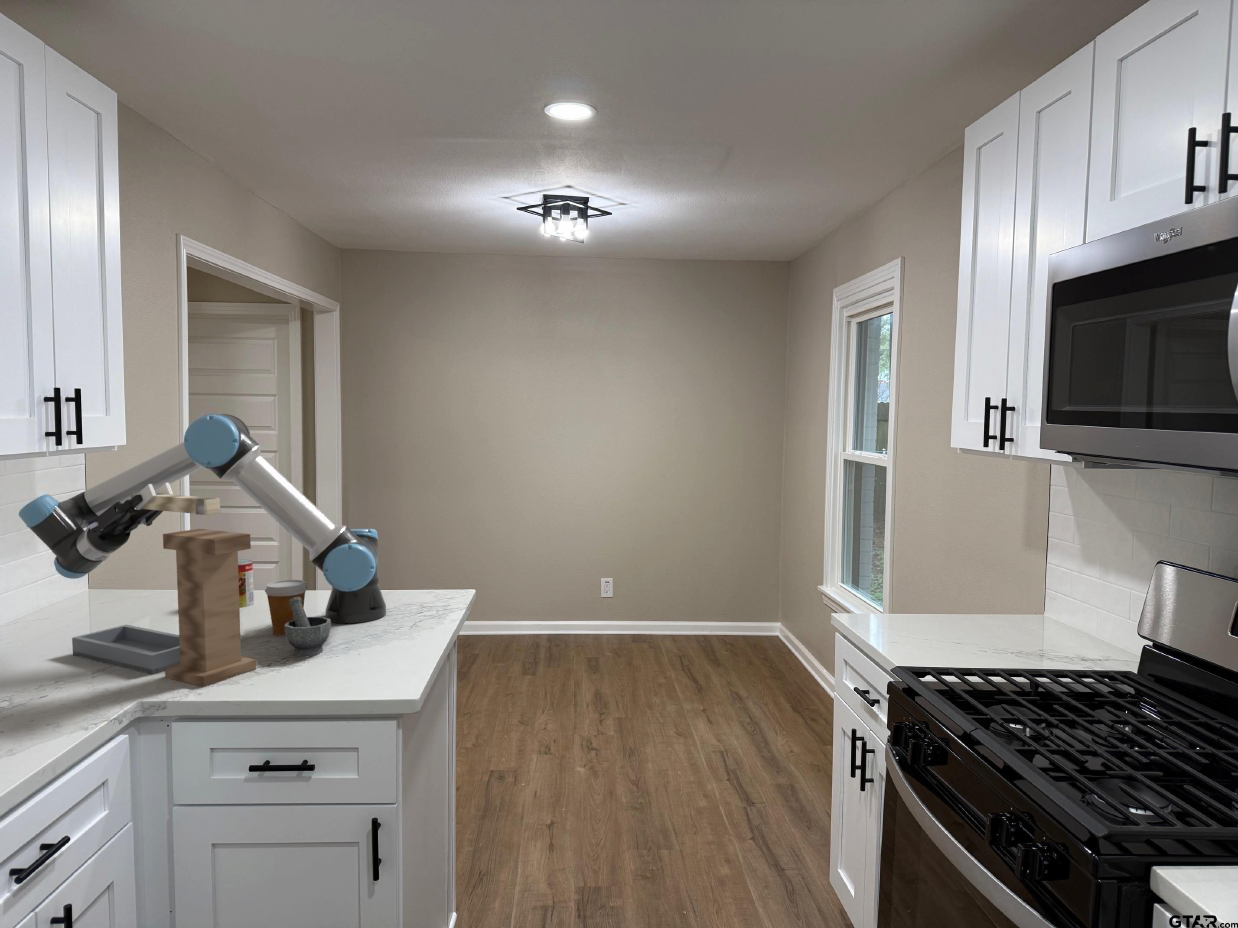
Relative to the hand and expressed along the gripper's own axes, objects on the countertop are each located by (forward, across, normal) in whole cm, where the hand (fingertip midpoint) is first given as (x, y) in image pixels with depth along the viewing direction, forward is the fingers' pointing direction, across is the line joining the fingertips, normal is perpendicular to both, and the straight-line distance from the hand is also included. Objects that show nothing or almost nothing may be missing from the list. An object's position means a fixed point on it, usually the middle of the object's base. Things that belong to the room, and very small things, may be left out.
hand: (160, 489), depth 169 cm
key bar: (+2, 0, -6) cm, 6 cm away
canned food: (-46, -42, -17) cm, 65 cm away
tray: (-28, -1, -27) cm, 39 cm away
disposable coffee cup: (-17, -29, -34) cm, 48 cm away
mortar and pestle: (-2, -20, -42) cm, 47 cm away
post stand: (-7, -1, -39) cm, 40 cm away
